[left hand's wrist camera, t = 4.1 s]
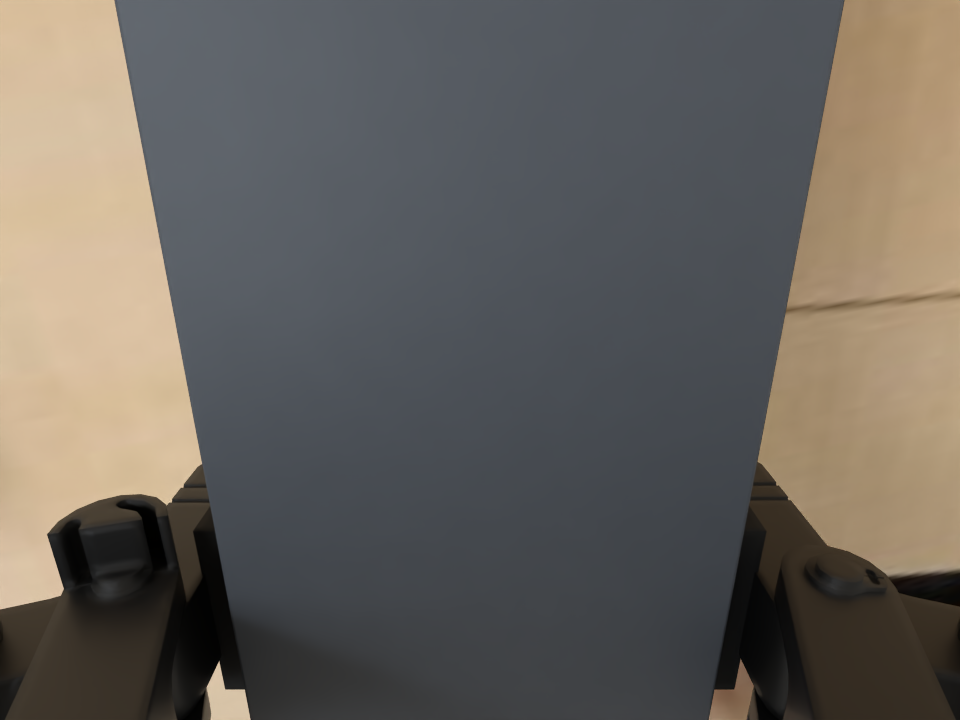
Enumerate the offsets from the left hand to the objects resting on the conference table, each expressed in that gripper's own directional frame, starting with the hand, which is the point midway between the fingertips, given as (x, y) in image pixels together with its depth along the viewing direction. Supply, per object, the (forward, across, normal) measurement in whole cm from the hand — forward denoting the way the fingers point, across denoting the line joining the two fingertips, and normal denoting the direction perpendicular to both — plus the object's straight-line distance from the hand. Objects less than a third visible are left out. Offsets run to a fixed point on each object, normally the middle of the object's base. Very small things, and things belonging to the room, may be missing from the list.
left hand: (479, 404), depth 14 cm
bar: (+1, 0, -9) cm, 9 cm away
